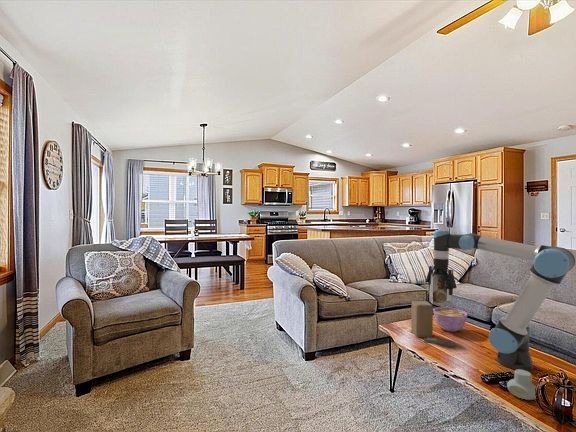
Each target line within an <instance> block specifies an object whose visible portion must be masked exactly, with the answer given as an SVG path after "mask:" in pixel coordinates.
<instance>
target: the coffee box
mask: <svg viewBox="0 0 576 432" xmlns="http://www.w3.org/2000/svg"><path fill="white" fill-rule="evenodd" d="M433 273H434V272H433ZM433 273H431V296H430V302H431V303H430V304H431V305H439V306H440V305H442V306H451V301H447V289H448V286H447V284H446V282H445V280H444V277H443V276H442V275H439V274H433ZM446 277H447V278H448V279H449V275H448V276H446ZM449 280H450V279H449Z"/></svg>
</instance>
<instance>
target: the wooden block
mask: <svg viewBox="0 0 576 432" xmlns="http://www.w3.org/2000/svg"><path fill="white" fill-rule="evenodd" d="M410 309H411V311H410V312H411V313H410V314H411V322H410V323H411V325H410V329H411V333H412V334H413V335H414V336H415V337H416V338H425V337H430V338H433V335H434V334H433V331H434V329H433V328H434V327H433V325H434V324H433V323H434V322H433V321H434V320H433V318H434V311H433V310H434V307H433V304H432V303H430V302H429V301H427V300H413V301H411V308H410Z"/></svg>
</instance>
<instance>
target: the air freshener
mask: <svg viewBox="0 0 576 432" xmlns="http://www.w3.org/2000/svg"><path fill="white" fill-rule="evenodd" d="M513 376H514V377H513V378H511V379H509V381H507V383H506V388H507V390H508V391H509V392H510V393H511V394H512V395H514V396H515V397H516V398H517V399H520V398H521V399H520V400H523V399H525V401H533V400H536V399H537V398H536V396H535V388H536V387H537V386H536V385H535V384H534V383H532V382H533V377H532V376H533V375H532V373H531V372H530V371H525V370H520V369H517V370H515V369H514V375H513Z"/></svg>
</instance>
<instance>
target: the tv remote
mask: <svg viewBox="0 0 576 432" xmlns="http://www.w3.org/2000/svg"><path fill="white" fill-rule="evenodd" d="M423 342H424V343H427V342H428V343H427V344H434V345H438V346H442V347H449V348H452V349H453V348H454V349H455V347H456V341H449V340H443V339H440V338H439V339H438V338H436V337H435V338H433V337H423Z"/></svg>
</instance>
